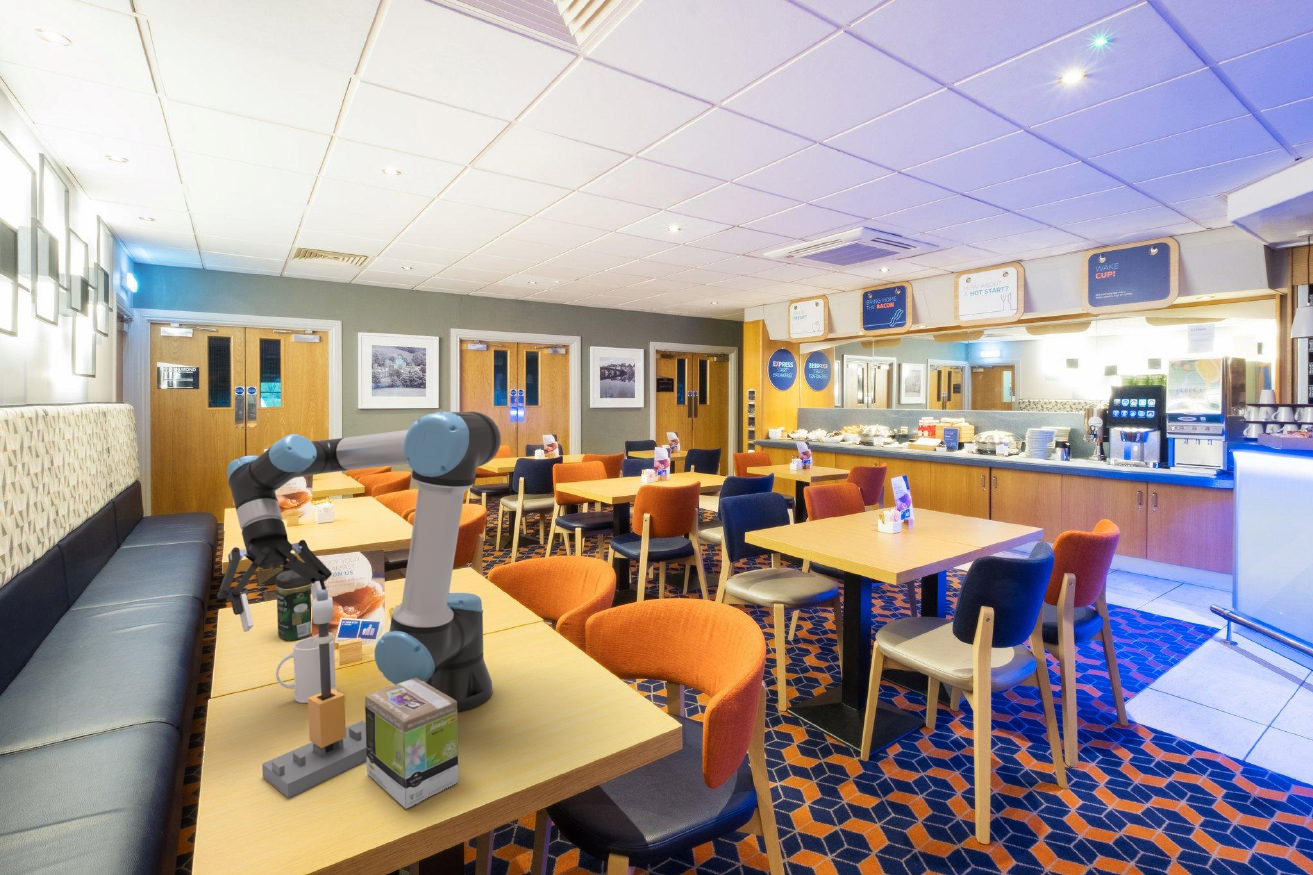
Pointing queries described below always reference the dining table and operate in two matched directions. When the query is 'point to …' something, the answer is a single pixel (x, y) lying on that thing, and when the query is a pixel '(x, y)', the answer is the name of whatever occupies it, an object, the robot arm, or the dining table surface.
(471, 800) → the dining table surface
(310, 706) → the marker sleeve
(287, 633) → the coffee jar
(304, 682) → the mug
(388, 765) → the tea box
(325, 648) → the rod stand with pegs
